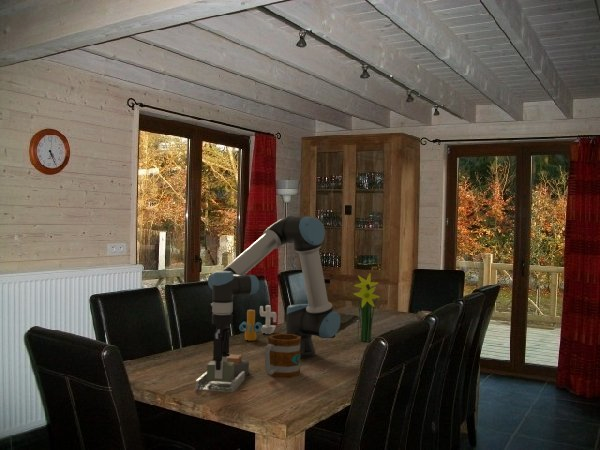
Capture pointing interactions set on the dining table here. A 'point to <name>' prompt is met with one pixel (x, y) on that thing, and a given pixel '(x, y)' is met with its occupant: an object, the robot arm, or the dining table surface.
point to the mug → (283, 355)
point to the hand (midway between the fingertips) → (220, 376)
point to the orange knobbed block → (250, 326)
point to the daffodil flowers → (366, 306)
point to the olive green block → (227, 372)
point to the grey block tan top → (238, 364)
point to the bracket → (219, 383)
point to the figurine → (268, 319)
